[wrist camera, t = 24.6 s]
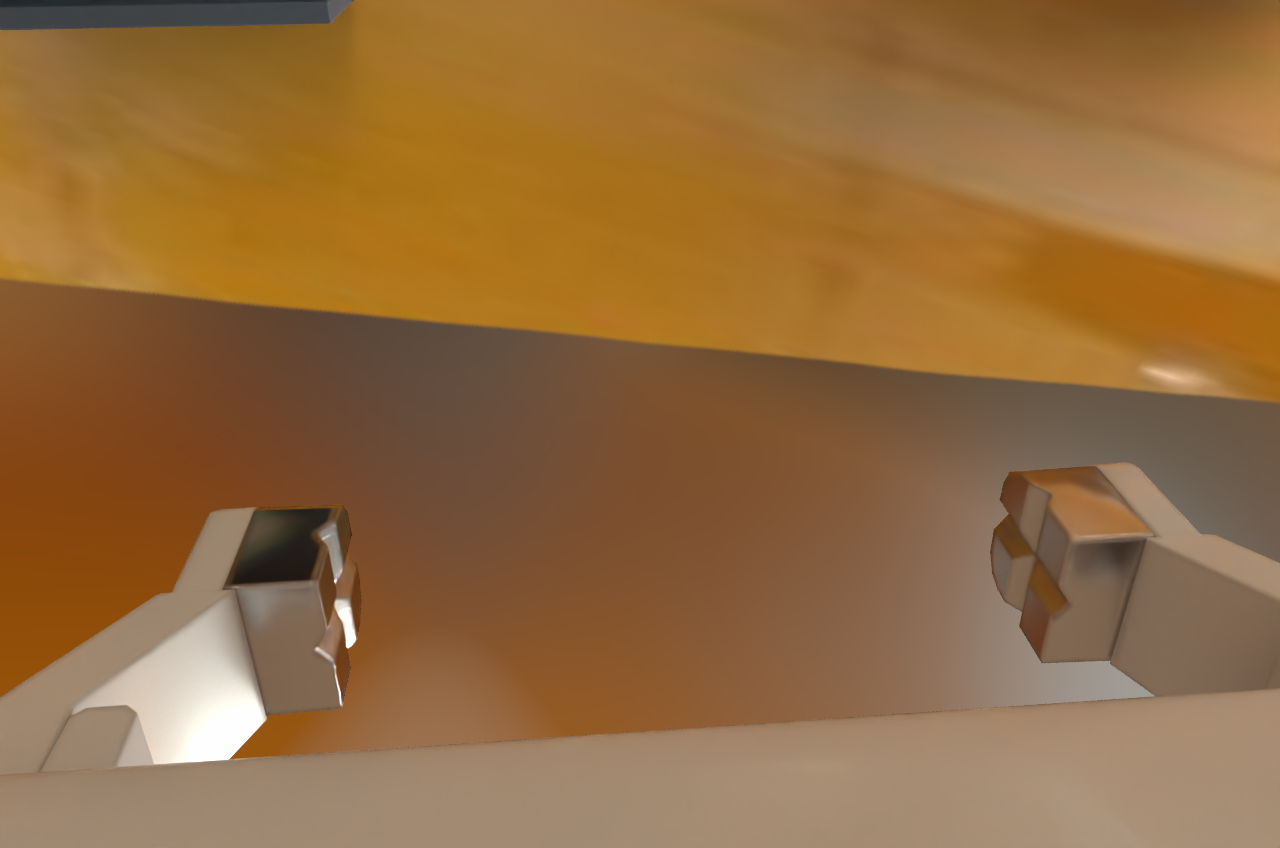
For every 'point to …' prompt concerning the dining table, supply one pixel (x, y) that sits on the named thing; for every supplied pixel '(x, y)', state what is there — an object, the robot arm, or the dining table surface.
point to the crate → (163, 13)
